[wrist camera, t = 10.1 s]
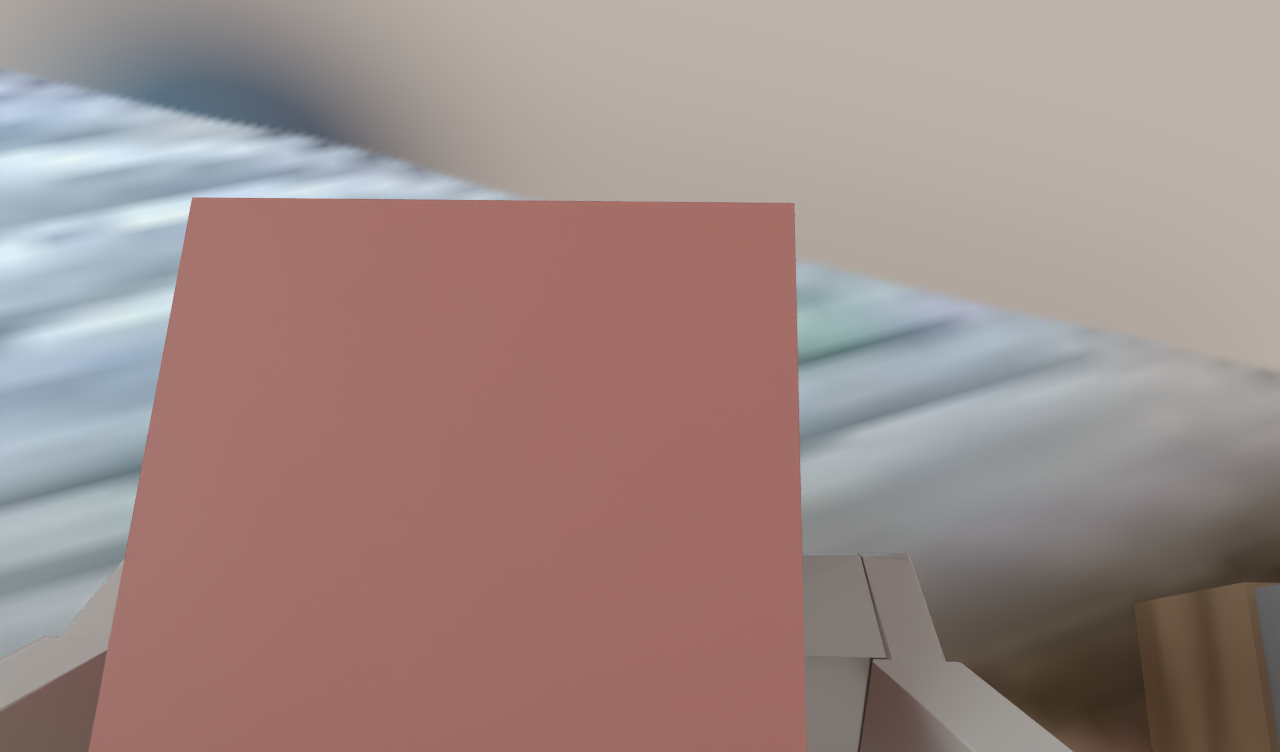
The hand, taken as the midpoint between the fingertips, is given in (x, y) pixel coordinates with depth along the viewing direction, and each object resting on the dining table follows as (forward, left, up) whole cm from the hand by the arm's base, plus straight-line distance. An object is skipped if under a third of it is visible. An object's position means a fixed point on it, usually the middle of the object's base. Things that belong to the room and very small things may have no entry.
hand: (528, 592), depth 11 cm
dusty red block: (0, 0, -4) cm, 4 cm away
